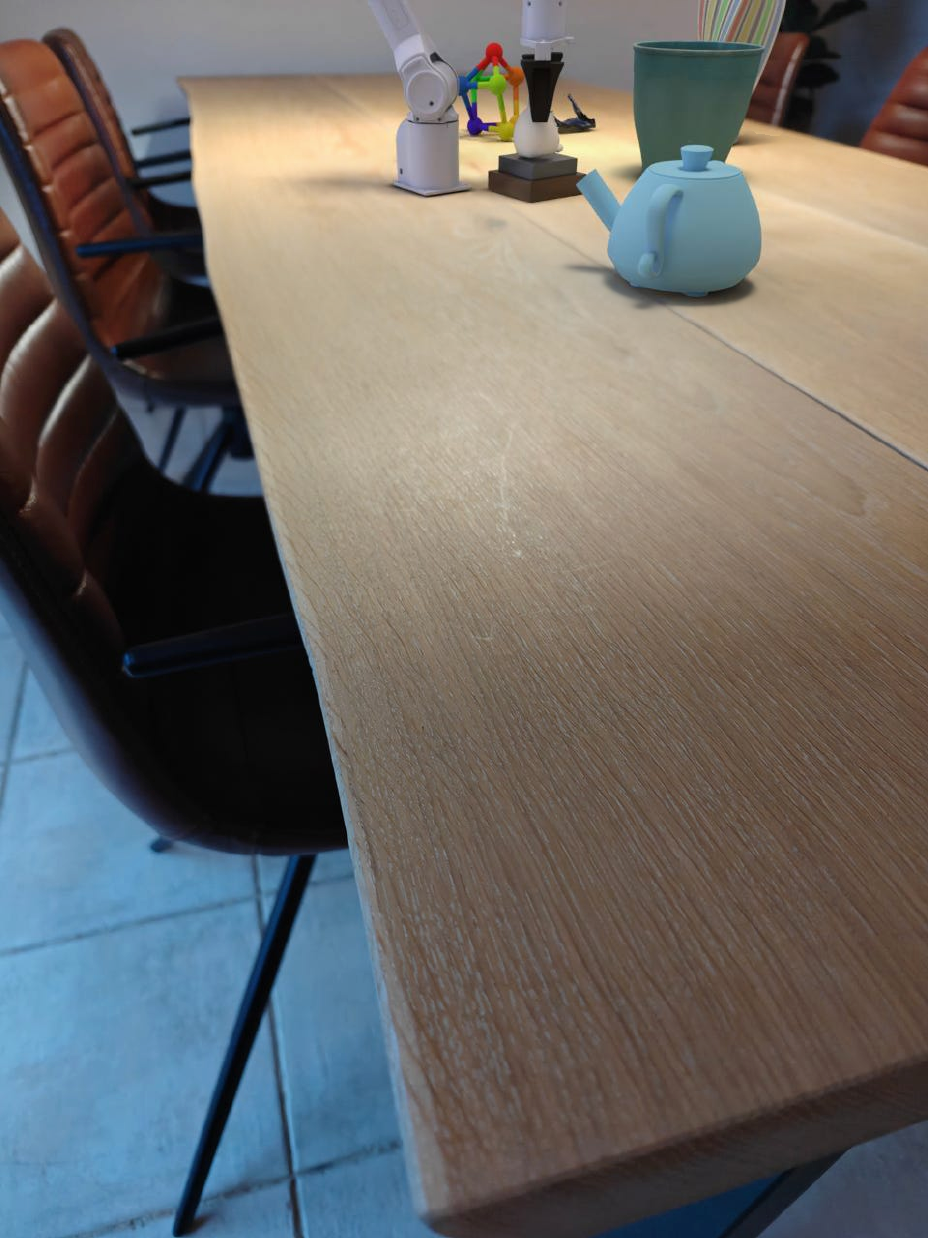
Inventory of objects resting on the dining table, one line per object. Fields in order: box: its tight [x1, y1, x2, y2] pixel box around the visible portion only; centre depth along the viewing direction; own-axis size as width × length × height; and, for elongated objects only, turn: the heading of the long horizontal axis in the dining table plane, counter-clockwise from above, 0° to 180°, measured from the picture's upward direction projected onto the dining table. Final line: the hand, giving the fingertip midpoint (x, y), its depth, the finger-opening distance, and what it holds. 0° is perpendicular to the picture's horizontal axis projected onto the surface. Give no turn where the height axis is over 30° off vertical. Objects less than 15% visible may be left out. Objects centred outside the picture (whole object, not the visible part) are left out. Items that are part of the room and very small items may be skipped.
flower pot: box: [632, 39, 765, 175], centre depth 128 cm, size 18×18×17 cm
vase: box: [696, 0, 787, 144], centre depth 147 cm, size 14×14×30 cm
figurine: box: [512, 96, 564, 158], centre depth 121 cm, size 8×6×7 cm
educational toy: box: [458, 41, 525, 142], centre depth 158 cm, size 16×13×15 cm
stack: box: [487, 152, 588, 203], centre depth 125 cm, size 10×10×4 cm
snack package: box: [550, 93, 597, 134], centre depth 168 cm, size 12×6×12 cm
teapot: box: [576, 145, 762, 298], centre depth 89 cm, size 20×20×13 cm
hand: (539, 117), depth 120 cm, fingers open, 7 cm apart
